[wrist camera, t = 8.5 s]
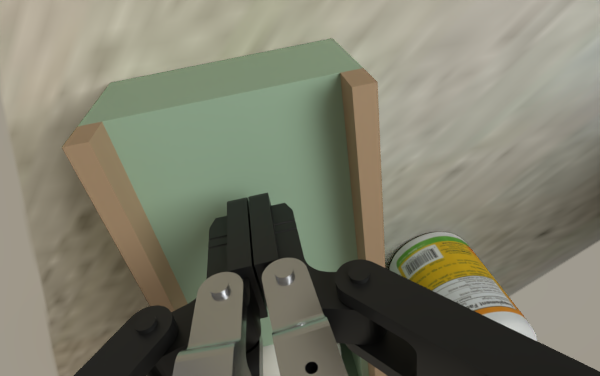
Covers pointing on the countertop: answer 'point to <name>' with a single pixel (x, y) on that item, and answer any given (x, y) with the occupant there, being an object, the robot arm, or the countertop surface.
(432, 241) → the supplement bottle
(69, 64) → the countertop surface
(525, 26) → the countertop surface
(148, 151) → the runway
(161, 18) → the countertop surface
